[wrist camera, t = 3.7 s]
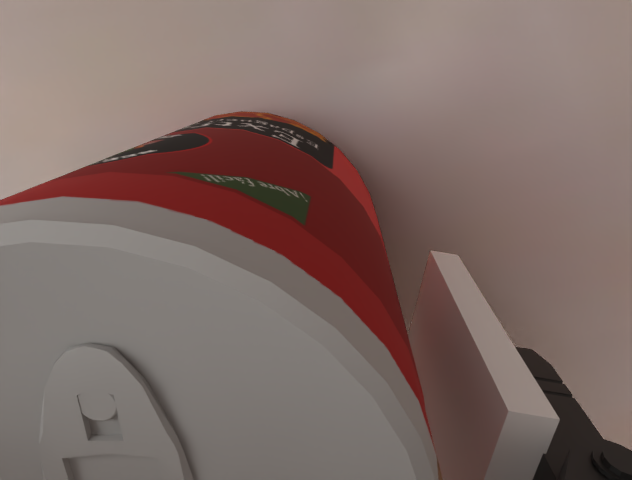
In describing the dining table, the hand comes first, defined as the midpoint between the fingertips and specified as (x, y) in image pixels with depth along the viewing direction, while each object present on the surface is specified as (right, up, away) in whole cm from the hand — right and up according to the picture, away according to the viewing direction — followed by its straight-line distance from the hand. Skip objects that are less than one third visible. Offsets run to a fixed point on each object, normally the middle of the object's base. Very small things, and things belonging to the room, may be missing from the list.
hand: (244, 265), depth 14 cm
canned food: (0, +1, +3) cm, 3 cm away
